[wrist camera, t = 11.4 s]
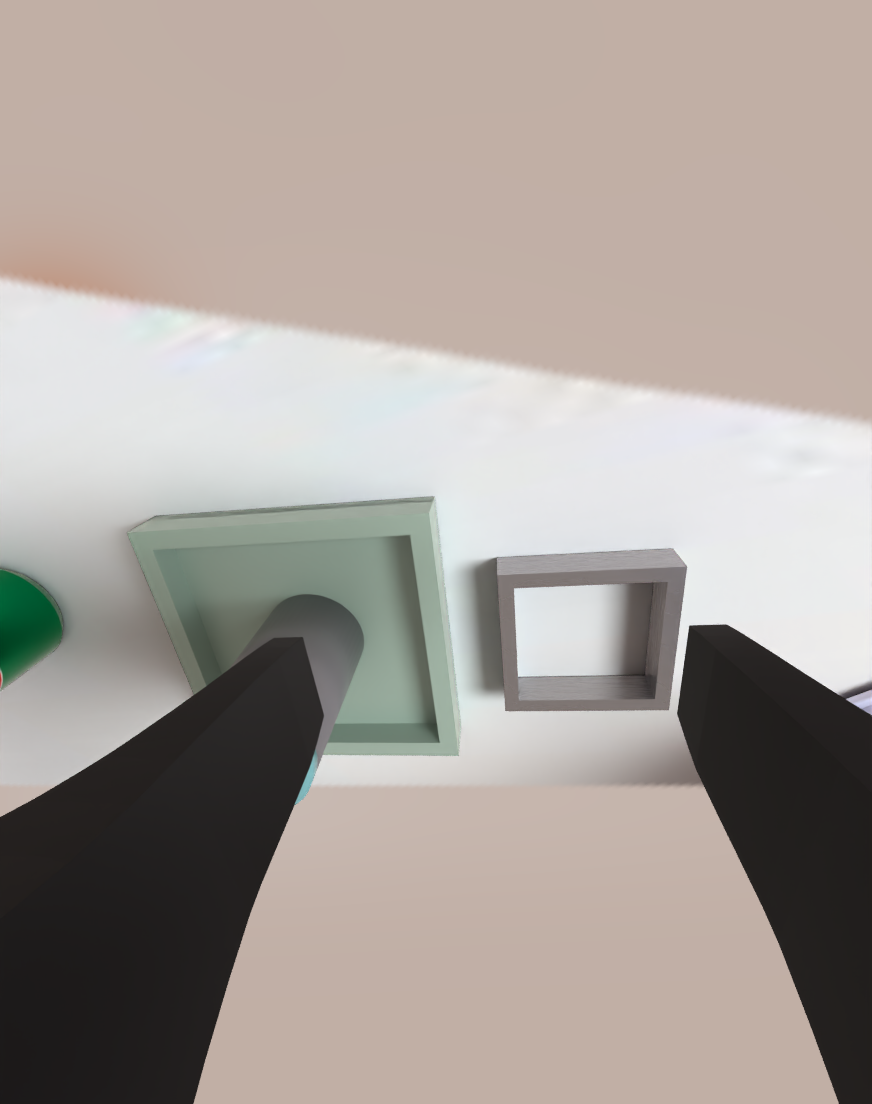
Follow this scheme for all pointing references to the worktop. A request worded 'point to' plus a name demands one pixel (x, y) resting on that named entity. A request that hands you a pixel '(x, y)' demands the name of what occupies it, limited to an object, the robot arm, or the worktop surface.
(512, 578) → the collar
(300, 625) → the cylinder
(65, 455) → the worktop surface
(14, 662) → the soda can
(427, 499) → the tray
